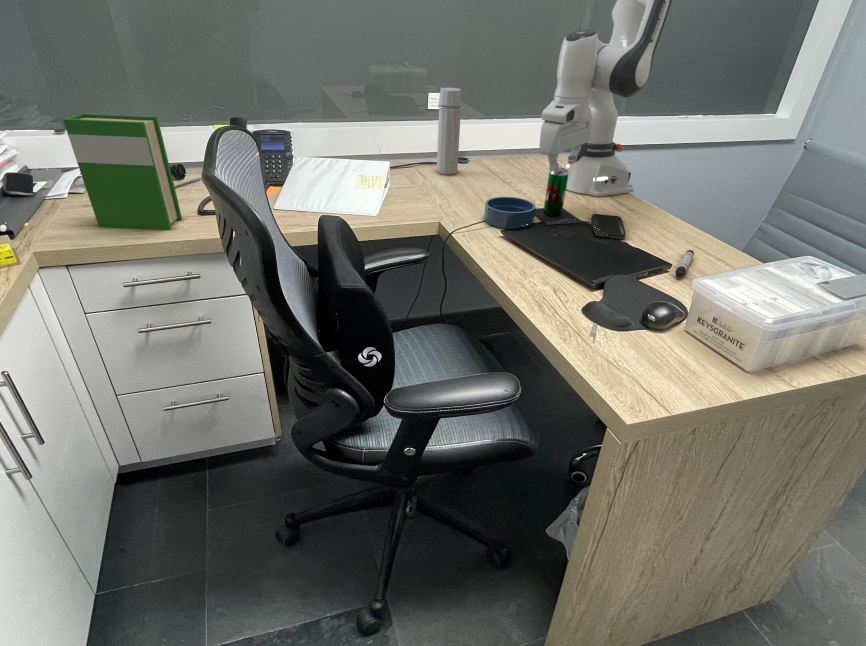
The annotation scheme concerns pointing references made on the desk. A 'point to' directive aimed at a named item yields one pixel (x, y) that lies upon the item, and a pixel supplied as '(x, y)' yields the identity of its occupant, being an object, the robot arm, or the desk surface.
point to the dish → (509, 212)
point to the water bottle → (448, 130)
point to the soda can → (556, 192)
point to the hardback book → (124, 170)
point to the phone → (609, 225)
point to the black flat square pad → (545, 218)
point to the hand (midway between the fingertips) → (562, 166)
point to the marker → (684, 263)
